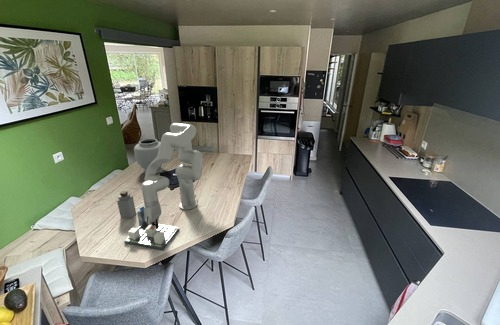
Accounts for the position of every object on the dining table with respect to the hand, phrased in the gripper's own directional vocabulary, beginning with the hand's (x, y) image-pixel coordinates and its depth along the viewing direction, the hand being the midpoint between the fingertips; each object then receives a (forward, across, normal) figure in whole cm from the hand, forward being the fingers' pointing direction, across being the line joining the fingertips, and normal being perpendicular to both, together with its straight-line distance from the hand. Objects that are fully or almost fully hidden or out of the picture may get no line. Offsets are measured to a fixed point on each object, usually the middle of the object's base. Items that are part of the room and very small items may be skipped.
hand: (155, 228), depth 142 cm
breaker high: (+1, +9, +8) cm, 12 cm away
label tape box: (+4, -9, -13) cm, 16 cm away
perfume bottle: (+3, -11, -28) cm, 30 cm away
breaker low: (+1, +9, -8) cm, 12 cm away
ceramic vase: (+3, -80, -55) cm, 97 cm away
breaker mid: (+1, +4, 0) cm, 5 cm away
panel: (+3, +4, 0) cm, 5 cm away
